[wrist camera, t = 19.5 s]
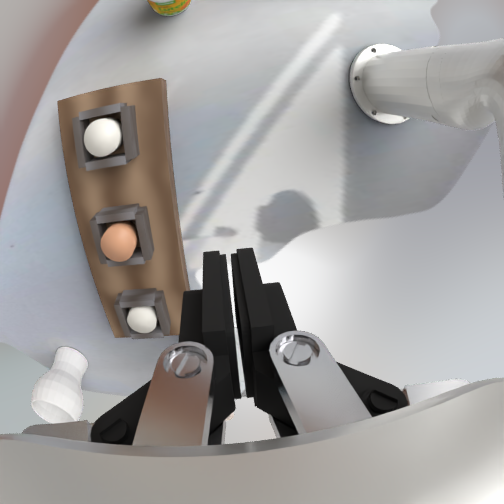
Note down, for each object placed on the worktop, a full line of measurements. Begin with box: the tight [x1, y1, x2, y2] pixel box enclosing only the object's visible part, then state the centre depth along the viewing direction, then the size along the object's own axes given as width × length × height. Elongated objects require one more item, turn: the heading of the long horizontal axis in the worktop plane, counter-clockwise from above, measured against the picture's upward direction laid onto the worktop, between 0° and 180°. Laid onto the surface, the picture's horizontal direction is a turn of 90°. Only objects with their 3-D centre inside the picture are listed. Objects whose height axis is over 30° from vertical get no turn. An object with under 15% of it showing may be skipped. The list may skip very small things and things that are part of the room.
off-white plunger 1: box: [84, 117, 124, 157], centre depth 31 cm, size 4×4×3 cm
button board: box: [57, 78, 190, 339], centre depth 39 cm, size 14×38×7 cm, turn 2°
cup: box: [31, 347, 88, 424], centre depth 47 cm, size 11×11×15 cm
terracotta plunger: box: [101, 220, 139, 262], centre depth 36 cm, size 4×4×3 cm
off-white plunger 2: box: [127, 306, 158, 333], centre depth 43 cm, size 4×4×3 cm
